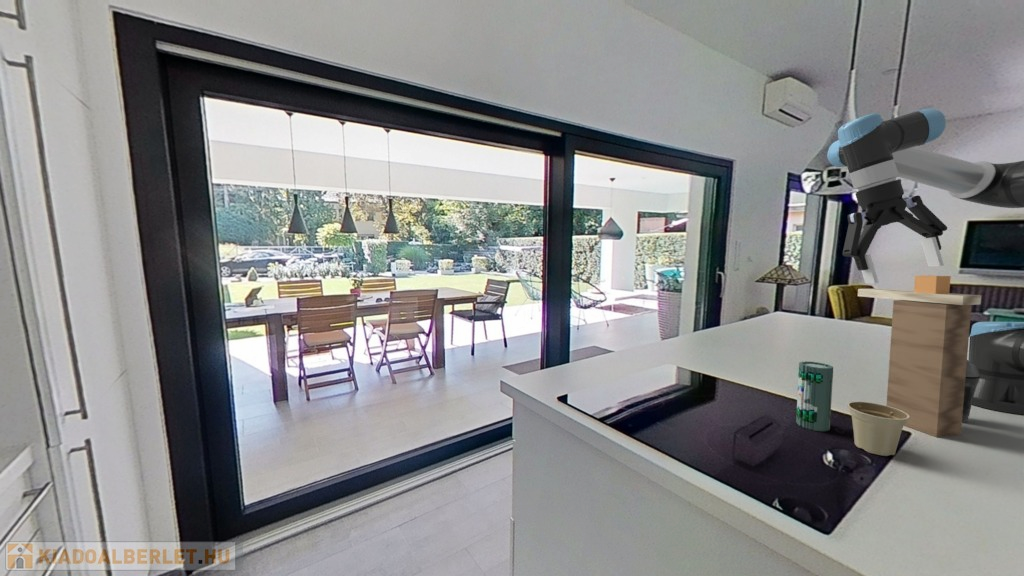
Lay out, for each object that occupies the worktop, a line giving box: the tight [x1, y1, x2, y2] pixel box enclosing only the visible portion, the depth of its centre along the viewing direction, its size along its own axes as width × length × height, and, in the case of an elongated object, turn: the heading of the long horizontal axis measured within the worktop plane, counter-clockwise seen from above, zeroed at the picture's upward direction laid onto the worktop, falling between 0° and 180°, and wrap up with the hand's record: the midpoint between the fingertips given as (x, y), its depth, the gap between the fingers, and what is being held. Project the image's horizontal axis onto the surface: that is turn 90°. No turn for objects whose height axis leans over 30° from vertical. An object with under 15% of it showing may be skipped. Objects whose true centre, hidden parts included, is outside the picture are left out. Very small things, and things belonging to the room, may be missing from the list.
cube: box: [913, 274, 952, 294], centre depth 88 cm, size 4×4×4 cm
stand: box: [885, 299, 972, 438], centre depth 89 cm, size 7×10×30 cm
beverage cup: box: [962, 359, 980, 424], centre depth 93 cm, size 7×7×20 cm
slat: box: [857, 287, 982, 306], centre depth 91 cm, size 5×21×2 cm, turn 9°
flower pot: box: [847, 400, 910, 457], centre depth 79 cm, size 9×9×9 cm
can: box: [795, 360, 834, 432], centre depth 90 cm, size 6×6×15 cm
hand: (903, 274), depth 85 cm, fingers open, 13 cm apart
